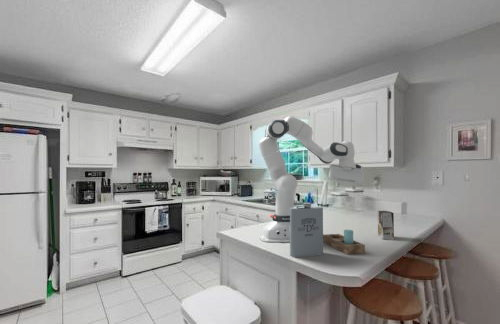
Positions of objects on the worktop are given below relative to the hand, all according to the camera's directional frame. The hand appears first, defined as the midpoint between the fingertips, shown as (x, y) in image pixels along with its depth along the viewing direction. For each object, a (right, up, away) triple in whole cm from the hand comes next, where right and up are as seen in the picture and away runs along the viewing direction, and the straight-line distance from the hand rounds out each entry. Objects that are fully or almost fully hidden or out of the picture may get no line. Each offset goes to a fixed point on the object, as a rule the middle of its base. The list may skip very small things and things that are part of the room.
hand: (345, 187), depth 139 cm
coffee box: (+27, -32, +5) cm, 42 cm away
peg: (-7, -30, -20) cm, 37 cm away
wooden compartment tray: (-8, -30, -14) cm, 34 cm away
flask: (-30, -30, -27) cm, 50 cm away
